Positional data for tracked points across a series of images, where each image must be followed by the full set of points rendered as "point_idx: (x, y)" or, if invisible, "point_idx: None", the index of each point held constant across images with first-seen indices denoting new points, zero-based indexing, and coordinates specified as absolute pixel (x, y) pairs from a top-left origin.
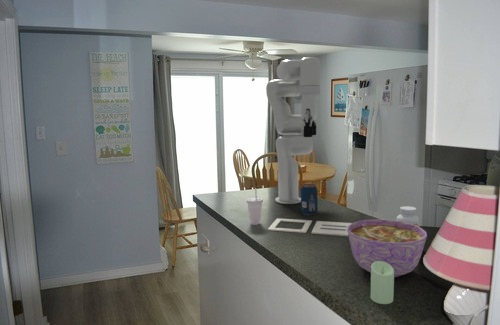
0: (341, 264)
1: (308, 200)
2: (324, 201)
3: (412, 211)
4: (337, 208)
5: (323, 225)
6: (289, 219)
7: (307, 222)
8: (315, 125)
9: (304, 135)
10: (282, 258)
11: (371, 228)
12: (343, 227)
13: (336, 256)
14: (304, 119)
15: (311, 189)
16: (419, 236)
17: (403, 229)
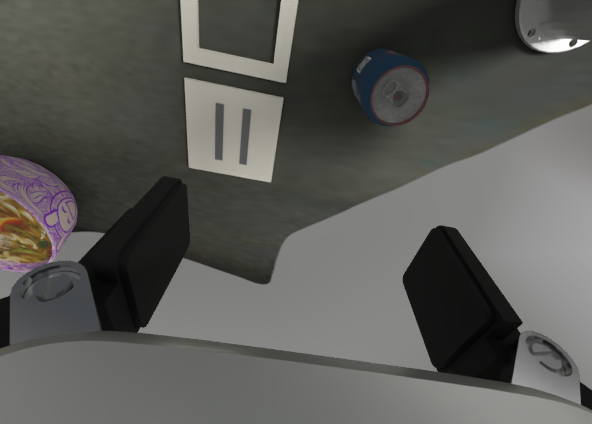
0: (31, 128)
1: (357, 83)
2: (508, 134)
3: None
4: (415, 162)
5: (242, 113)
6: (294, 3)
7: (266, 69)
8: (445, 369)
9: (158, 188)
10: None
11: (17, 207)
12: (236, 157)
13: (65, 123)
14: (495, 403)
15: (366, 104)
16: (20, 260)
17: (45, 250)
